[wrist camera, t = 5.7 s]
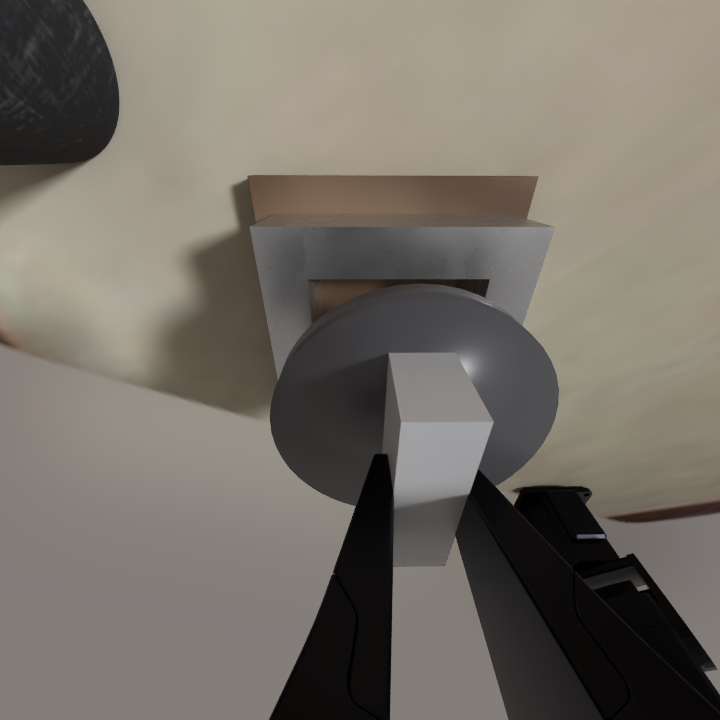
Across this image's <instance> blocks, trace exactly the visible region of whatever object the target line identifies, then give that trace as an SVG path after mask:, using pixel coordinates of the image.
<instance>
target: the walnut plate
mask: <svg viewBox="0 0 720 720" xmlns="http://www.w3.org/2000/svg"><path fill="white" fill-rule="evenodd" d="M537 180H538V177H536V176H285V175H253V176H248V181H249V187H250V193H251V199H252V204H253V210H254V216H255V222H256V223H258V222H260V221H261V220H263V219H265V218H267V217H269V216H271V215H273V214H275V213H409V214H510V215H514V216H517V217H521V218H524V219H527V215H528V212H529V208H530V205H531V201H532V198H533V194H534V190H535V187H536V183H537ZM320 282H321V296H322V310H323V315H324V314H325V313H327V312H328V311H330V310H331V309H333V308H334V307H336V306H338V305H339V304H341V303H343V302H345V301H347V300H350V299H352V298H354V297H356V296H358V295H361V294H364V293H367V292H370V291H373V290H376V289H381V288H386V287H391V286H396V285H406V284H435V285H444V286H449V287H454V285H455V279H320Z"/></svg>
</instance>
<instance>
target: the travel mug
mask: <svg viewBox="0 0 720 720" xmlns="http://www.w3.org/2000/svg"><path fill="white" fill-rule="evenodd" d="M118 116H119V90H118V84H117V78H116V73H115V69H114V65H113V62H112V58H111V56H110V53H109V50H108V47H107V45H106V42H105V40H104V38H103V36H102V33H101V31H100V29H99V27H98V25H97V23H96V21H95V20H94V18H93V16H92V14H91V12H90V10H89V9H88V7H87V6H86V4H85V3H84V1H83V0H0V165H31V164H60V163H74V162H79V161H84V160H87V159H89V158H91V157H93V156H95V155H97V154H98V153H99V152H101V151H102V150H103V149H104V148H105V147H106V145H107V144H108V143H109V141H110V140H111V138H112V136H113V134H114V131H115V128H116V126H117V121H118Z"/></svg>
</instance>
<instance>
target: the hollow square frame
mask: <svg viewBox="0 0 720 720" xmlns="http://www.w3.org/2000/svg"><path fill="white" fill-rule="evenodd" d="M554 229H555V227H553V226H550V225H546V224H542V223H539V222H535V221H532V220H528V219H524V218H521V217H517V216H514V215H510V214H409V213H275V214H273V215H271V216H269V217H267V218H265V219H263V220H261V221H260V222H258V223H256V224H254V225H252V226H250V232H251V238H252V243H253V249H254V254H255V259H256V265H257V270H258V276H259V281H260V286H261V292H262V297H263V303H264V308H265V314H266V319H267V324H268V330H269V335H270V341H271V346H272V351H273V357H274V362H275V368H276V373H277V378H278V379H279V377H280V374H281V372H282V369H283V366H284V364H285V362H286V359H287V357H288V355H289V353H290V351H291V350H292V348H293V347H294V345H295V343H296V342H297V340H298V339H299V338H300V337H301V336H302V334H303V333H304V332H305V331H306V330H307V329H308V328H309V327H310V326H311V325H312V324H313V323H314V322H315V321H317V320H318V319H319V318H320V317H321V316H322V315H323V310H322V296H321V282H320V279H455V285H454V288H459V289H463V290H466V291H469V292H472V293H474V294H477V295H480V296H482V297H484V298H486V299H487V300H489V301H491V302H493V303H495V304H497V305H498V306H499V307H501V308H502V309H503V310H505V311H506V312H507V313H508V314H510V315H511V316H512V317H513V318H514V319H515V320H516V321H517V322H518V323H520V324H521V325H523V322H524V319H525V316H526V313H527V310H528V307H529V304H530V301H531V298H532V295H533V292H534V289H535V286H536V283H537V280H538V277H539V274H540V271H541V268H542V265H543V262H544V259H545V256H546V253H547V250H548V247H549V244H550V241H551V238H552V235H553V232H554Z"/></svg>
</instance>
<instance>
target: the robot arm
mask: <svg viewBox="0 0 720 720" xmlns="http://www.w3.org/2000/svg"><path fill="white" fill-rule="evenodd" d="M591 495H592V492H591V491H590V490H589V489H588V488H527V489H523V490H522V491H521V492H520V494H519V496H518V498H517V500H516V502H515V504H514V506H513V505H512V504H511V503H510V502H509V501H508V499H507V498H506V497H505V496H504V495H503V494H502V493H501V492H500V491H499V490H498V489H497V488H496V487H495V486H494V485H493V484H492V482H491V481H490V480H489V479H488V478H487V477H486V476H485V475H484V474H483V473H482V472H481V471H480V470H479V469H478V470H477V473H476V476H475V479H474V482H473V485H472V488H471V491H470V494H469V495H468V497H467V500H466V503H465V506H464V509H463V512H462V515H461V518H460V521H459V524H458V527H457V530H456V533H455V536H456V539H457V543H458V546H459V550H460V553H461V557H462V560H463V564H464V567H465V570H466V574H467V578H468V581H469V584H470V588H471V591H472V594H473V598H474V602H475V605H476V609H477V612H478V616H479V619H480V623H481V626H482V629H483V632H484V636H485V640H486V643H487V647H488V650H489V654H490V657H491V661H492V663H493V667H494V671H495V674H496V678H497V681H498V685H499V688H500V692H501V695H502V699H503V702H504V705H505V709H506V712H507V716H508V719H509V720H720V695H719V693H718V692H717V690H716V689H715V687H714V686H713V684H712V683H711V681H710V680H709V679H708V677H707V676H706V674H705V673H704V672H705V671H712V670H717V668H716V666H715V665H714V664H713V662H712V660H711V659H710V658H709V656H708V655H707V653H706V652H705V650H704V649H703V648H702V646H701V645H700V644H699V642H698V640H697V639H696V638H695V636H694V635H693V634H692V632H691V631H690V629H689V628H688V627H687V625H686V624H685V622H684V621H683V620H682V619H681V617H680V616H679V615H678V613H677V612H676V610H675V609H674V607H673V606H672V605H671V603H670V602H669V601H668V600H667V598H666V597H665V595H664V594H663V593H662V591H661V590H660V589H659V587H658V586H657V585H656V583H655V582H654V581H653V579H652V578H651V576H650V575H649V574H648V573H647V571H646V570H645V568H644V567H643V566H642V564H641V563H640V562H639V560H638V559H637V558H636V556H635V555H634V554H633V553H632V554H628V555H626V556H627V557H624V558H619V556H618V555H617V553H616V552H615V550H614V549H613V548H612V546H611V545H610V543H609V542H608V541H607V539H606V537H607V536H606V534H605V533H604V531H603V530H602V528H601V527H600V526H599V524H598V522H597V521H596V519H595V518H594V516H593V515H592V514H591V512H590V511H589V509H588V508H587V506H586V505H585V504H586V502H587V501H588V500H589V498H590V497H591ZM393 537H394V495H393V488H392V481H391V474H390V467H389V460H388V455H387V454H386V453H383V454H375V455H374V456H373V459H372V462H371V465H370V468H369V470H368V473H367V476H366V479H365V482H364V485H363V488H362V490H361V493H360V496H359V499H358V502H357V505H356V508H355V511H354V513H353V516H352V519H351V522H350V525H349V528H348V531H347V534H346V536H345V539H344V542H343V545H342V548H341V551H340V553H339V556H338V559H337V562H336V565H335V568H334V571H333V575H332V576H331V579H330V581H329V585H328V587H327V590H326V593H325V595H324V598H323V601H322V604H321V607H320V609H319V611H318V614H317V616H316V619H315V621H314V624H313V626H312V628H311V630H310V633H309V635H308V637H307V640H306V642H305V644H304V647H303V649H302V651H301V653H300V655H299V657H298V659H297V661H296V664H295V666H294V668H293V670H292V672H291V674H290V676H289V678H288V680H287V682H286V685H285V687H284V689H283V691H282V693H281V695H280V697H279V700H278V702H277V704H276V706H275V708H274V710H273V712H272V714H271V717H270V719H269V720H390V689H391V687H390V686H391V637H392V588H393V587H392V586H393V585H392V584H393ZM642 585H646V586H647V588H648V589H647V590H643V591H638V590H637V588H636V587H638V586H642Z"/></svg>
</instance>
